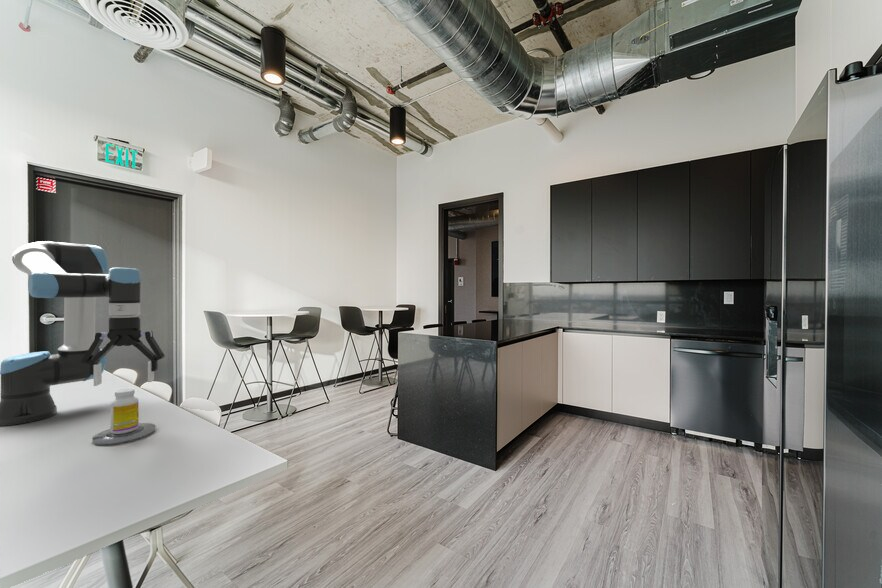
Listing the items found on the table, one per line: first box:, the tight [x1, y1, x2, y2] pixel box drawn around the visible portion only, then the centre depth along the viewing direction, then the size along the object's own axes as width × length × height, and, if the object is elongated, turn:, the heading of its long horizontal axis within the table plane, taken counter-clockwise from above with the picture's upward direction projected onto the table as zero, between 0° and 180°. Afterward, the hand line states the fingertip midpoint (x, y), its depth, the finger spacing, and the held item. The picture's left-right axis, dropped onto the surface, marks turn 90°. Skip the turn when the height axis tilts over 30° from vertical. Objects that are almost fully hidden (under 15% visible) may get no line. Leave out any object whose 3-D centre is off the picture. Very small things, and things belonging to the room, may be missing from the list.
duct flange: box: [91, 422, 157, 447], centre depth 112 cm, size 15×15×1 cm
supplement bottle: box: [110, 388, 140, 434], centre depth 112 cm, size 7×7×13 cm
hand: (124, 383), depth 112 cm, fingers open, 13 cm apart
